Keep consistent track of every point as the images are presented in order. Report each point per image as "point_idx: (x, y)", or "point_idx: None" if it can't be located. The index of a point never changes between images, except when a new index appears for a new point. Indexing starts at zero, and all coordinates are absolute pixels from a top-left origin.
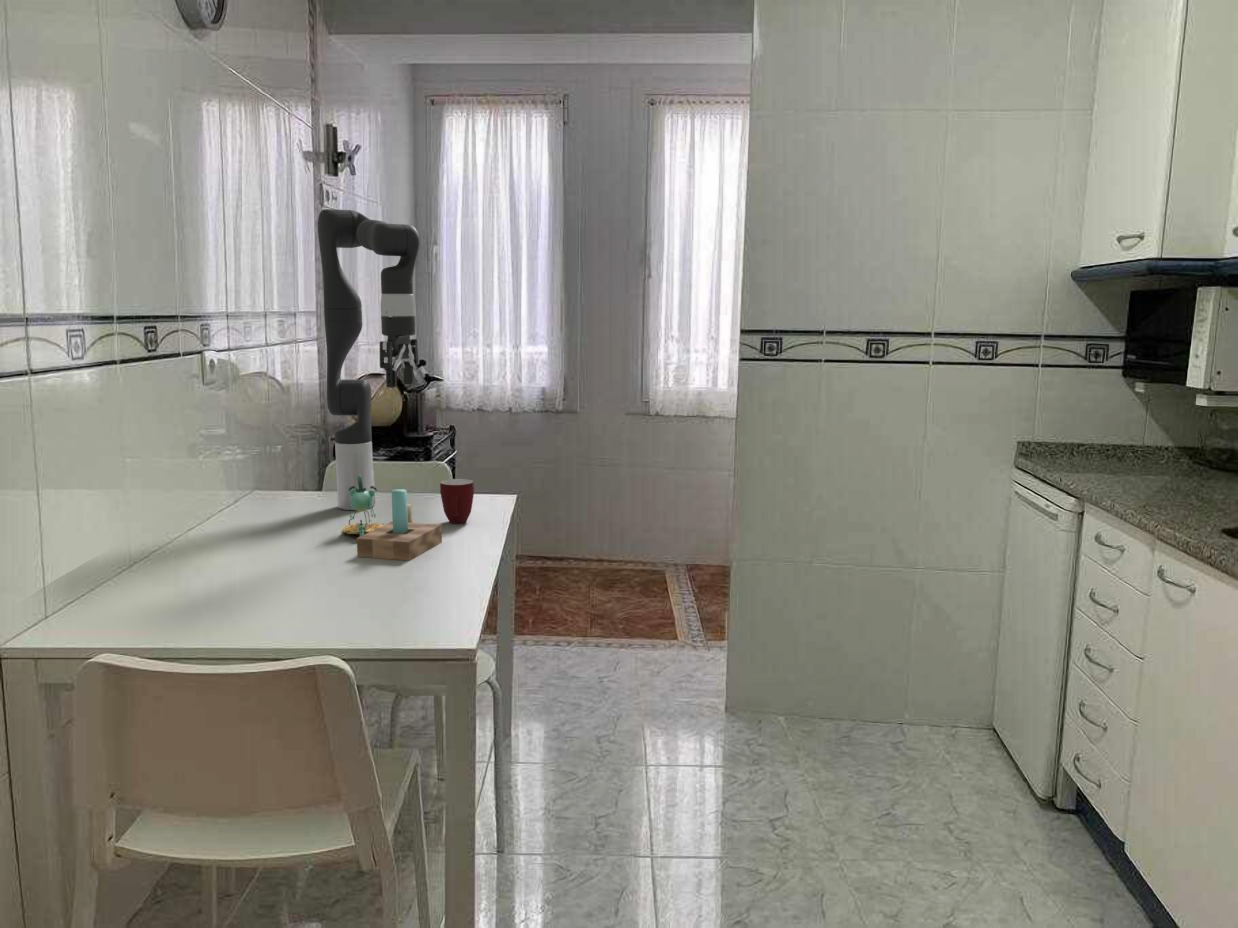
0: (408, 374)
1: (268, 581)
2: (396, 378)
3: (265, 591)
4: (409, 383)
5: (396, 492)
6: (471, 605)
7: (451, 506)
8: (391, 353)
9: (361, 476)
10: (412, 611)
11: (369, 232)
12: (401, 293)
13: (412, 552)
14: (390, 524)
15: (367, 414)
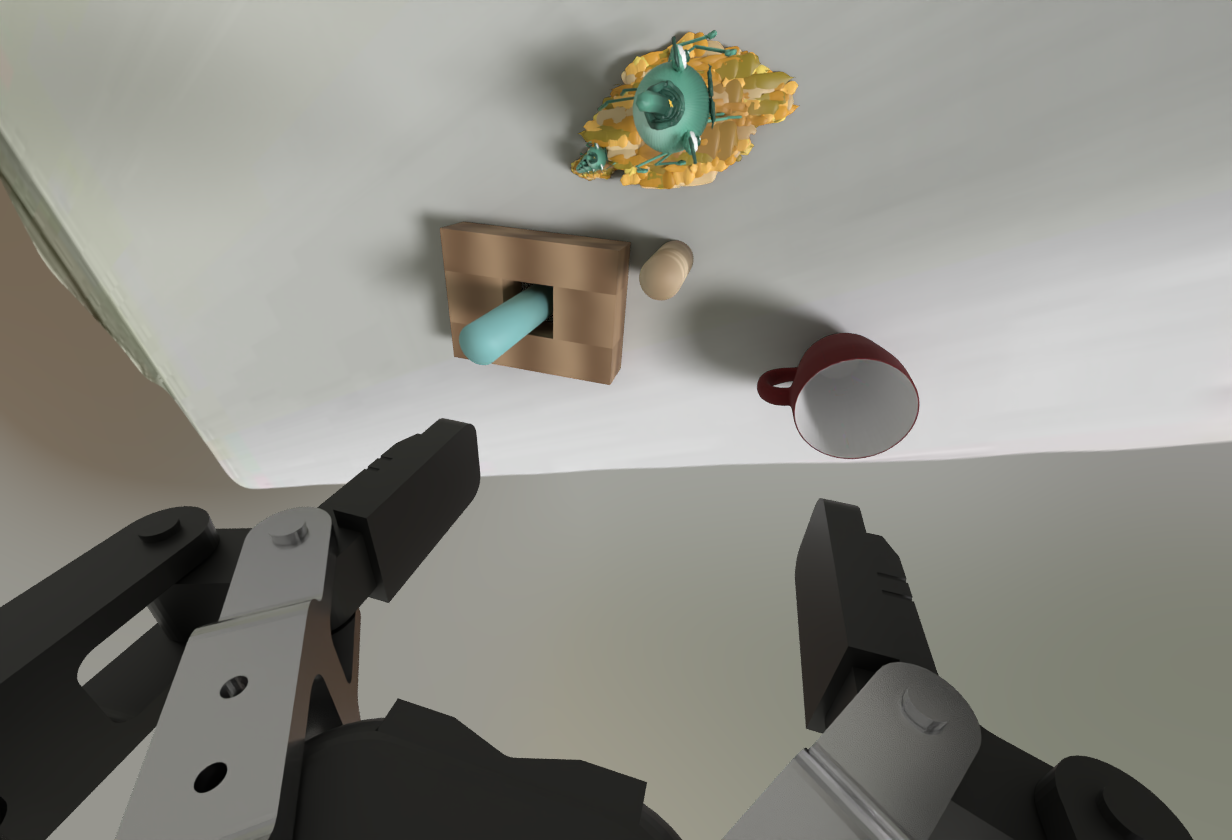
0: (816, 618)
1: (255, 111)
2: (437, 542)
3: (217, 146)
4: (804, 544)
5: (459, 343)
6: (332, 475)
7: (757, 383)
8: (50, 807)
9: (646, 110)
10: (280, 415)
11: None
12: None
13: None
14: (585, 258)
15: None
